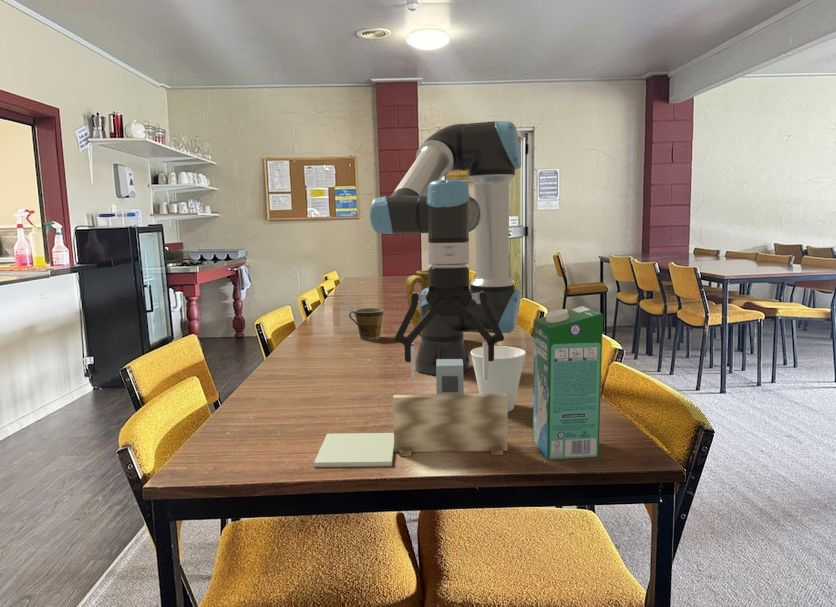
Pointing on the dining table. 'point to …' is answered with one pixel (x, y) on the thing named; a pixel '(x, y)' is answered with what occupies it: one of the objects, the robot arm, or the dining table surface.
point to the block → (449, 376)
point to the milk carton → (567, 383)
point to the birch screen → (450, 423)
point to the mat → (356, 450)
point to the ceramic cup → (368, 322)
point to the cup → (500, 371)
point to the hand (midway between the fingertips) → (449, 378)
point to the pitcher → (411, 280)
